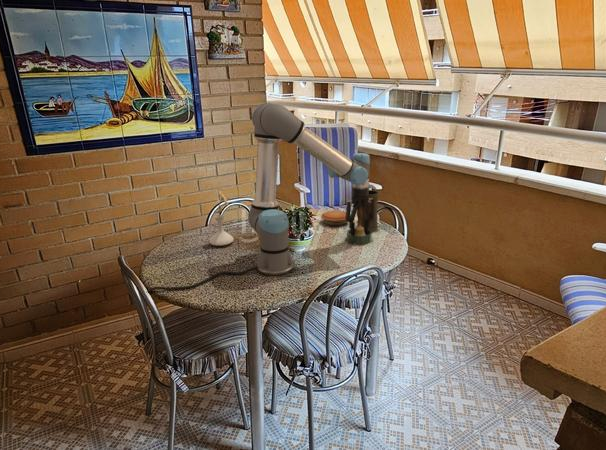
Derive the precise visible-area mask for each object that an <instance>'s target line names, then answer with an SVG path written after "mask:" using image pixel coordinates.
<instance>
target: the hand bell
mask: <svg viewBox="0 0 606 450" xmlns="http://www.w3.org/2000/svg"><path fill="white" fill-rule="evenodd" d="M356 217H357V221H358V223H357V225H358V226H357V225H356V226H355V234H354V235H355V236H366V234H365V231H364V227H362V226H361V218H362V208H361V207H359V208H358V210H357V212H356Z"/></svg>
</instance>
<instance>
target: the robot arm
mask: <svg viewBox="0 0 606 450" xmlns="http://www.w3.org/2000/svg"><path fill="white" fill-rule="evenodd" d="M251 121H252V124H253V127H254V128H253V132H254V133H253V137H254V139H255V140H256V141H257V147H256V148H257V149H256V171H255V172H256V173H255V190H254V191H255V193H254V199H253V200H252V201H251V202H250V209H249V211H248V214H247V220H248V224H249V225H250V227H251V228H252V229H253V230H254V232H255V233H256V234H257V235H258V236H259V254H258V258H257V262H256V266H254V267H251V268H248V269H245V270H242V271H230V270H229V271H220V272H217V273H214V274H212V275H210V276H209V277H207V278H205V279H203V280H201V281H199V282H197V283H194V284H191V285H185V286H153V287H150V288H148V290H147V291H146V293H147V292H148V293H147V294H149V293H150V292H152V291H155V290H166V291H169V290H170V291H171V290H174V291H175V290H187V289H192V288H196V287H198V286H200V285H202V284H204V283H206V282H208V281H210V280H212V279H214V278H216V277H218V276H220V275H244V274H246V273H248V272H251V271H254V270H257V272H258V273H260V274H261V275H264V276H273V277H274V276H282V275H283V276H284V275H287V274H289V273H291V272H292V271H293V270H294V269H295V262H294V259H293V257H292V256H294V255H295V254H294V252H293V251H292V250H290V244H289V243H290V241H289V240H290V239H289V217H288V215H287V214H286V212H284V211H283V210H279V209H280V208H279V207H280V203H279V202H278V201H277V199H276V198H277V180H278V166H279V165H278V163H279V147H280V142H281V141H285V142H287V143H288V144H289V145H291V144H294V145H295V146H297V147H298V148H300V149H301V150H303V151H304V152H306V153H307V154H309V155H310V156H311V157H312V158H315V159H316V160H318V161H319V162H320V163H322V164H323V165H324V166H326V171H327V174H328V176H329V178H330V179H331V178H332V179H337V178H340V179H342V180H345V181H348V182H349V183H351V186H352V188H351V196H352V197H351V199H350V200H346V201H345V205H346V206H345V207H346V208H345V212H346V218H345V220H346V221H347V222H346V223H348V229H351V235H354V234H355V227H356V224H355V222H354V221H355V218H356V216H357V210H358V208H359V207H362V208H363V211H364V214H365V218H366V220H364V231H365V234H368V227H369V226H370V221H371V219H374V210H373V204H374V199H372V198H369V197H368V194H369V190H370V188H369V187H370V164H371V161H370V160H371V159H370V158H371V157H370V154H369V153H366V152H356V153H353V155H352V158H349V157H348V156H346V155H345V154H344V153H342V152H341V151H340V150H338V149H336V148H335V147H334V146H333V145H331V144H330V143H328V142H327V141H326V140H324V139H323V138H321V137H320V136H318V135H317V134H316V133H314V132H313V131H312V130H310V129H309V128H307V126H306V125H305V122H304V121H303V120H302V119H300V118H299V117H298V116H296V114H294V113H293V112H292V111H290V109H288V108H287V107H285V106H284V105H282V104H277V103H273V102H264V103H260V104H259V105H258V106H256V107H255V108H254V109H253V112H252V115H251ZM367 202H369V213H368V210H367V205H366V204H367Z"/></svg>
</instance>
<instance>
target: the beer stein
mask: <svg viewBox="0 0 606 450" xmlns="http://www.w3.org/2000/svg"><path fill="white" fill-rule="evenodd" d="M368 197H369V198H372V199H374V204H373V210H374V219H371V221H370V226H369V227H368V230H370V231H371V233H373V232H376V231H378V230H379V227H378V198H379V192H378V191H377V190H373V189H369V194H368ZM366 205H367V210H368V213H369V202H367V204H366ZM361 208H362V207H361ZM364 220H366V218H365V214H364V211H363V208H362V218H361V226H362V227H364ZM356 223H357V225H356V227H357V226H358V220H357V222H356Z"/></svg>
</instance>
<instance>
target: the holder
mask: <svg viewBox="0 0 606 450" xmlns="http://www.w3.org/2000/svg"><path fill="white" fill-rule="evenodd" d="M372 233H373V232H371V231H370V230H368V234H366V236H355V235H351V229H350V228H348V229H347V231H346V241H347V242H348V243H349V244H351V245H352V244H353V245H367V244H369V243H371V242H372Z"/></svg>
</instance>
